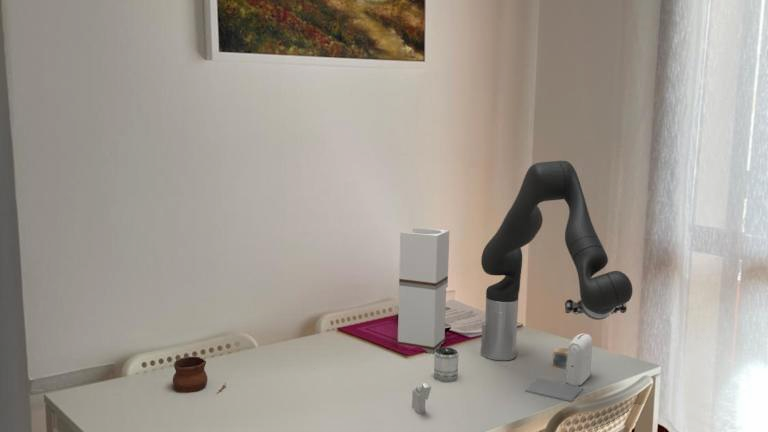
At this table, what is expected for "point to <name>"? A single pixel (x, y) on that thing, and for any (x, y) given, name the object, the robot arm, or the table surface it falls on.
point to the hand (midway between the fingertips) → (593, 309)
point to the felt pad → (554, 389)
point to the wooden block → (560, 358)
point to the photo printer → (579, 359)
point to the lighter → (420, 397)
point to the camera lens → (446, 364)
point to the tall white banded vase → (423, 288)
